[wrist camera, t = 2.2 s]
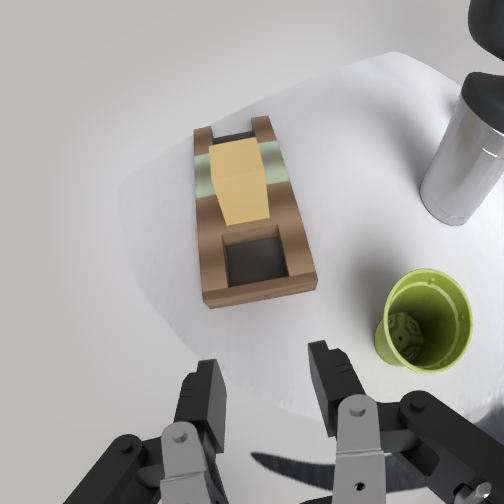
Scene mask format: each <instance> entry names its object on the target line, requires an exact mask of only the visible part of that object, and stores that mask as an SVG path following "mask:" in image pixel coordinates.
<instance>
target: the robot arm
mask: <svg viewBox="0 0 504 504" xmlns="http://www.w3.org/2000/svg"><path fill="white" fill-rule="evenodd" d="M468 26H469V31H470V34H471V36H472V37H473V39H474V41H475V42H476V43H477V44H478V45H480V46H481V47H482V48H483V49H485V50H486V51H488V52H490V53H491V54H493V55H494V56H496V57H497V58H499V59H501V60H502V61H504V0H471V2H470V6H469V12H468ZM503 172H504V76H499V75H492V74H487V73H482V72H472V73H470V74H468V76H467V77H466V79H465V81H464V84H463V87H462V90H461V93H460V96H459V98H458V101H457V104H456V106H455V109H454V112H453V115H452V117H451V120H450V122H449V124H448V127H447V129H446V132H445V134H444V136H443V139H442V141H441V143H440V145H439V148H438V150H437V152H436V154H435V156H434V159H433V161H432V163H431V165H430V167H429V169H428V171H427V173H426V175H425V177H424V179H423V181H422V183H421V186H420V194H421V198H422V201H423V203H424V205H425V206H426V208H427V209H428V210H429V212H430V213H431V214H432V215H433V216H434V217H435V218H437V219H438V220H440V221H441V222H443V223H445V224H448V225H452V226H459V225H462V224H464V223H466V221H467V220H468V219H469V218H470V217H471V215H472V214H473V213H474V212H475V210H476V209H477V208H478V207H479V205H480V204H481V203H482V201H483V200H484V199H485V197H486V196H487V195H488V193H489V192H490V190H491V189H492V188H493V186H494V185H495V183H496V182H497V181H498V179H499V178H500V176H501V175H502V173H503ZM308 354H309V364H310V373H311V378H312V382H313V386H314V389H315V392H316V396H317V399H318V403H319V406H320V410H321V413H322V416H323V420H324V423H325V427H326V430H327V434H328V437H333V436H335V438H336V441H337V450H336V451H337V452H336V463H335V476H334V487H333V495H332V496H327V497H323V498H319V499H313V500H308V501H305V502H303V503H300V504H386V481H385V458H384V453H392V454H393V455H394V456H395V457H396V458H397V459H398V460H399V461H400V462H401V463H402V464H403V465H404V466H405V467H407V468H408V469H409V470H410V471H411V472H412V473H413V474H414V475H415V476H416V477H417V478H418V479H419V480H420V481H422V482H423V483H424V484H425V485H426V486H427V487H428V488H429V489H430V490H431V491H433V492H434V493H435V494H436V495H437V496H438V497H439V498H440V499H441V500H443V501H444V502H445V503H446V504H504V446H503V445H502V444H501V443H499V442H498V441H496V440H495V439H493V438H492V437H491V436H489V435H488V434H486V433H485V432H483V431H482V430H481V429H479V428H478V427H476V426H475V425H474V424H472V423H471V422H469V421H468V420H466V419H465V418H464V417H462V416H461V415H459V414H458V413H457V412H455V411H454V410H452V409H451V408H450V407H448V406H447V405H445V404H444V403H443V402H441V401H440V400H438V399H437V398H436V397H434V396H433V395H431V394H430V393H428V392H426V391H420V390H418V391H412V392H409V393H407V394H406V395H404V396H403V398H402V399H401V401H400V402H392V403H380V402H376V401H375V400H374V399H373V398H371V397H369V396H367V395H366V393H365V391H364V389H363V387H362V385H361V383H360V381H359V379H358V377H357V375H356V373H355V371H354V369H353V366H352V364H351V363H350V360H349V358H348V356H347V354H346V353H344V352H343V351H341V350H340V349H339V348H337V349H333V350H329V349H328V346H327V344H326V342H325V340H321V341H317V342H312V343H308ZM226 397H227V395H226V387H225V383H224V380H223V377H222V374H221V371H220V368H219V365H218V362H217V360H216V359H210V360H202V361H199V362H198V367H197V372H195V373H189V374H188V375H187V377H186V378H185V379H184V380H183V383H182V387H181V392H180V398H179V400H178V404H177V409H176V413H175V418H174V422H173V424H170V425H169V426H167V427H166V428H165V429H164V431H163V432H162V435H161V436H160V437H158V438H154V439H149V440H145V441H141V440H140V439H139V438H138V437H137V436H135V435H132V434H126V435H122V436H119V437H118V438H116V439H115V440H114V441H113V442H112V443H111V445H110V446H109V447H108V448H107V450H106V451H105V452H104V453H103V455H102V456H101V457H100V458H99V460H98V461H97V462H96V463H95V465H94V466H93V467H92V469H91V470H90V471H89V472H88V473H87V475H86V476H85V477H84V479H83V480H82V481H81V482H80V483H79V485H78V486H77V487H76V488H75V489H74V491H73V492H72V493H71V494H70V496H69V497H68V498H67V499H66V501H65V502H64V503H63V504H157V503H158V502H159V500H160V499H161V497H162V504H229V502H228V500H227V497H226V494H225V491H224V488H223V485H222V481H221V478H220V475H219V471H218V468H217V465H216V463H215V458H216V454H218V453H224V436H225V416H226Z"/></svg>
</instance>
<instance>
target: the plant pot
mask: <svg viewBox="0 0 504 504" xmlns="http://www.w3.org/2000/svg"><path fill="white" fill-rule="evenodd" d="M388 320H392V322H391V323H389V324H388ZM409 322H412V323H413V324H414V325H415V327H416V331H415V330H414V329H413V327H412V326H411V325H410V324H409ZM472 331H473V316H472V311H471V307H470V304H469V301H468V298H467V296H466V294H465V293H464V291H463V290H462V288H461V287H460V286H459V284H458V283H457V282H456V281H455V280H453V279H452V278H451V277H450V276H448V275H447V274H445V273H443V272H440V271H437V270H434V269H418V270H414V271H411V272H409V273H407V274H406V275H404V276H403V277H402V278H401V279H400V280H399V281H398V282H397V283H396V284H395V285H394V287H393V288H392V290H391V291H390V293H389V295H388V297H387V300H386V303H385V307H384V312H383V318H382V320H381V321H380V323H379V325H378V326H377V329H376V332H375V347H376V350H377V352H378V354H379V356H380V357H381V358H382V359H383V360H384V361H385V362H387V363H388V364H391V365H394V366H406V367H407V368H409V369H411V370H413V371H415V372H418V373H422V374H437V373H441V372H444V371H446V370H448V369H450V368H451V367H453V366H454V365H455V364H456V363H458V361H459V360H460V359H461V358H462V357H463V355H464V354H465V352H466V350H467V348H468V346H469V344H470V340H471V336H472ZM400 336H401V337H402V341H400V340H399V339H398V338H399V337H400ZM414 350H415V352H414V354H413V356H412V357H410V358H407V356H408V355H409V354H411V353H412V351H414Z"/></svg>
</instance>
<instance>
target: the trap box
mask: <svg viewBox="0 0 504 504" xmlns="http://www.w3.org/2000/svg"><path fill="white" fill-rule="evenodd" d="M251 122H252V129H253V131H250V132H245V133H239V134H234V135H229V136H224V137H219V138H214V137H213V134H212V130H211V126H209V127H204V128H200V129H196V130H194V168H195V194H196V215H197V232H198V247H199V261H200V273H201V285H202V296H203V302H204V303H205V304H206V305H207V306H208V307H209V309H213V308H220V307H226V306H232V305H238V304H243V303H249V302H255V301H260V300H266V299H271V298H277V297H282V296H287V295H292V294H297V293H302V292H307V291H312V290H315V289H316V285H317V282H318V278H317V274H316V271H315V267H314V263H313V259H312V256H311V252H310V248H309V245H308V241H307V237H306V234H305V230H304V227H303V223H302V220H301V216H300V213H299V210H298V206H297V203H296V200H295V196H294V193H293V190H292V187H291V183H290V180H289V177H288V174H287V171H286V167H285V164H284V161H283V158H282V155H281V152H280V149H279V146H278V143H277V140H276V137H275V134H274V131H273V128H272V125H271V122H270V120H269V117H268V116H262V117H255V118H251ZM253 134H254V135H253ZM253 137H256V139H257V143H258V147H259V151H260V154H261V158H262V162H263V166H264V170H265V179H266V188H267V197H268V206H269V216H270V218H266V219H260V220H255V221H250V222H244V223H239V224H234V225H229V226H227V225H226V222H225V219H224V216H223V213H222V210H221V207H220V204H219V201H218V198H217V195H216V192H215V189H214V186H213V183H212V180H211V169H210V156H209V146H212V145H217V144H222V143H227V142H232V141H237V140H242V139H248V138H253ZM214 142H215V143H214ZM278 237H279V238H278ZM279 241H280V242H279ZM226 249H227V250H226ZM281 250H282V251H281ZM282 254H283V255H282ZM227 257H228V258H227ZM283 259H284V260H283ZM284 263H285V264H284ZM228 265H229V266H228ZM285 268H286V269H285ZM286 272H287V273H286ZM230 280H231V281H230Z"/></svg>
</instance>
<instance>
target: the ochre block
mask: <svg viewBox="0 0 504 504" xmlns="http://www.w3.org/2000/svg"><path fill="white" fill-rule="evenodd" d="M209 156H210V169H211V180H212V183H213V186H214V189H215V192H216V195H217V198H218V201H219V204H220V207H221V210H222V213H223V216H224V219H225V222H226V225H227V226H229V225H234V224H239V223H244V222H250V221H255V220H260V219H266V218H270V216H269V206H268V197H267V188H266V179H265V170H264V166H263V162H262V158H261V154H260V151H259V147H258V143H257V139H256V137H253V138H248V139H242V140H237V141H232V142H227V143H222V144H217V145H212V146H209Z"/></svg>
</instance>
